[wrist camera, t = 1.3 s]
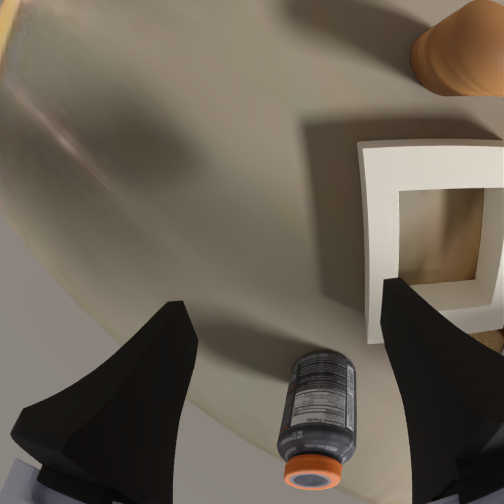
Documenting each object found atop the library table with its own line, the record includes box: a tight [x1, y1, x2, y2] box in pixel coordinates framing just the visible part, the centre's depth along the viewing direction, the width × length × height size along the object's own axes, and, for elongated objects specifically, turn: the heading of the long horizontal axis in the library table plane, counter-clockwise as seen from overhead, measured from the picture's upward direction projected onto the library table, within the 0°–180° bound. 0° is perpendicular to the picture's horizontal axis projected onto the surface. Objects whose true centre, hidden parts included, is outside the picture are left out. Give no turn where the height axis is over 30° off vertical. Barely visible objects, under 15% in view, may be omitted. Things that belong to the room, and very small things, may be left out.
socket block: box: [357, 139, 504, 344], centre depth 18 cm, size 13×11×4 cm
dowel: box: [410, 0, 504, 96], centre depth 11 cm, size 4×4×8 cm
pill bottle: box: [277, 351, 357, 490], centre depth 22 cm, size 6×6×11 cm
